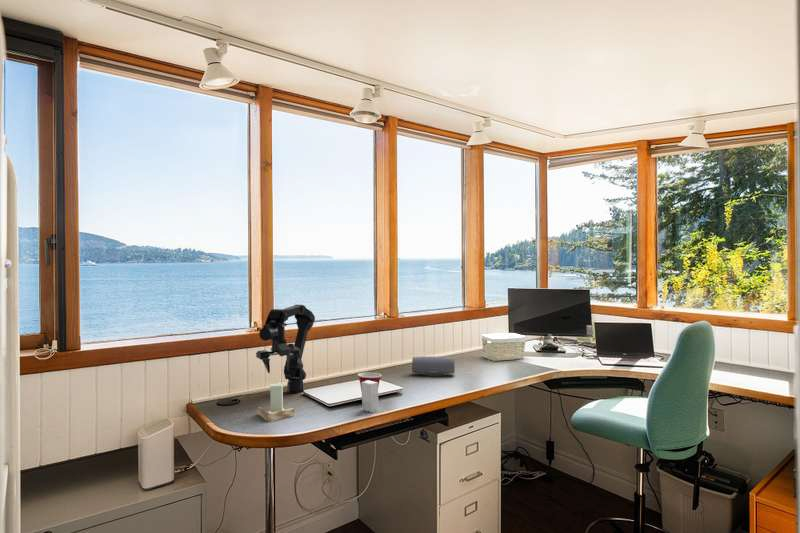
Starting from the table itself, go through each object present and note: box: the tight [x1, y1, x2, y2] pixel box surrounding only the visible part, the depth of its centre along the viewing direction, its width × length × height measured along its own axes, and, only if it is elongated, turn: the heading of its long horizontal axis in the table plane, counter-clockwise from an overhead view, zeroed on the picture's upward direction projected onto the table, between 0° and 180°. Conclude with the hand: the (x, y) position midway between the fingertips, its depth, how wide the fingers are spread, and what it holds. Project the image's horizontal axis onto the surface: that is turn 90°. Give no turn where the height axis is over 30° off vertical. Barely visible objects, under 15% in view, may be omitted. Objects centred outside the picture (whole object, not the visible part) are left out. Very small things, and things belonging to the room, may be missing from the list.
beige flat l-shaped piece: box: [257, 406, 295, 422], centre depth 198 cm, size 11×11×3 cm
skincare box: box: [360, 380, 380, 413], centre depth 204 cm, size 6×4×12 cm
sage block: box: [269, 382, 284, 413], centre depth 199 cm, size 4×4×12 cm
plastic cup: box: [357, 372, 382, 392], centre depth 218 cm, size 11×11×12 cm
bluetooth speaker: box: [411, 356, 456, 377], centre depth 264 cm, size 23×9×10 cm, turn 84°
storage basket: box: [481, 332, 527, 362], centre depth 305 cm, size 24×16×15 cm
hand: (278, 371), depth 219 cm, fingers open, 9 cm apart
